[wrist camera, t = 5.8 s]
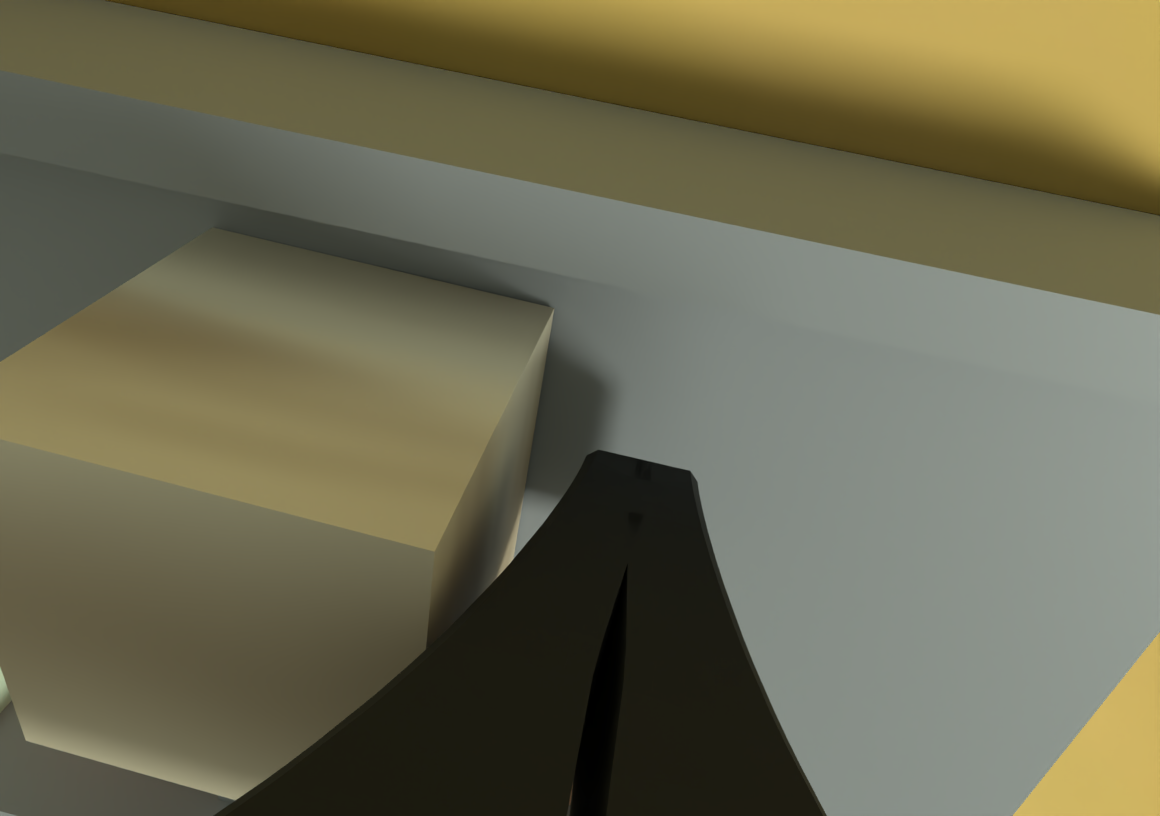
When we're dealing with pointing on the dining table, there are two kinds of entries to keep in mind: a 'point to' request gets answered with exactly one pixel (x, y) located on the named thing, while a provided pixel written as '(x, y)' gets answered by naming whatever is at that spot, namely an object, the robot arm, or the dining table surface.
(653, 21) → the dining table surface
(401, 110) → the box
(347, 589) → the birch block
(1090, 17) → the dining table surface
